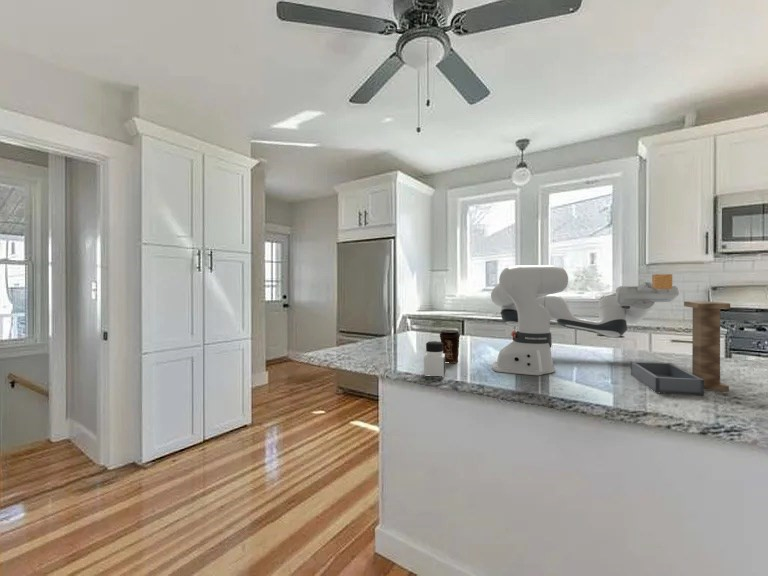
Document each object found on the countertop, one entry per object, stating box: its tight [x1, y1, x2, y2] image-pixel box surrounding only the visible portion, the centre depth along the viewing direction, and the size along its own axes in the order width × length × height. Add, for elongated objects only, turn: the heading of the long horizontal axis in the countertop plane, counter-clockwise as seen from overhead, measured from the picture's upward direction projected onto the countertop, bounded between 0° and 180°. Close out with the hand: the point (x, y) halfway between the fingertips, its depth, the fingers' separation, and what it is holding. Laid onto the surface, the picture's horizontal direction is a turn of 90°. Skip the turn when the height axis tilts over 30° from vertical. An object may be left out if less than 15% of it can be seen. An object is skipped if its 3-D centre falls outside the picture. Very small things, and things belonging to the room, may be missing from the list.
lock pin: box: [648, 273, 673, 289], centre depth 141 cm, size 5×15×5 cm, turn 163°
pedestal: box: [683, 301, 731, 392], centre depth 120 cm, size 8×9×26 cm
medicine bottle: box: [423, 340, 446, 377], centre depth 141 cm, size 7×7×12 cm
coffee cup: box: [439, 329, 461, 364], centre depth 161 cm, size 9×8×13 cm
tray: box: [630, 361, 705, 397], centre depth 124 cm, size 12×22×4 cm, turn 164°
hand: (651, 283), depth 145 cm, fingers closed on lock pin
